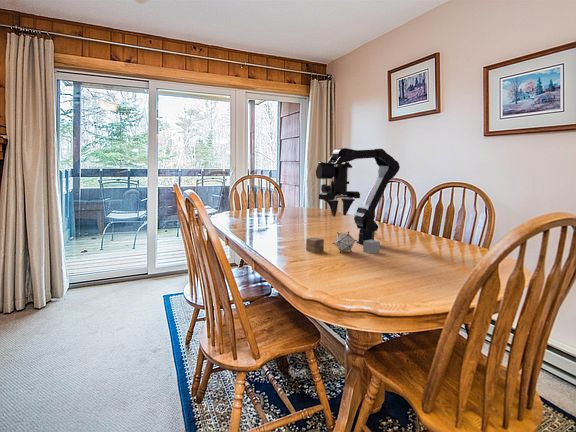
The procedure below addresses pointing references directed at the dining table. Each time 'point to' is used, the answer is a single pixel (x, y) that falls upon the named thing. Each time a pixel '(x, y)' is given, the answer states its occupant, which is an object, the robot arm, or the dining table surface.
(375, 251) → the slate block
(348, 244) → the game die
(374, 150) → the robot arm
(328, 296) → the dining table surface
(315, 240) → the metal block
